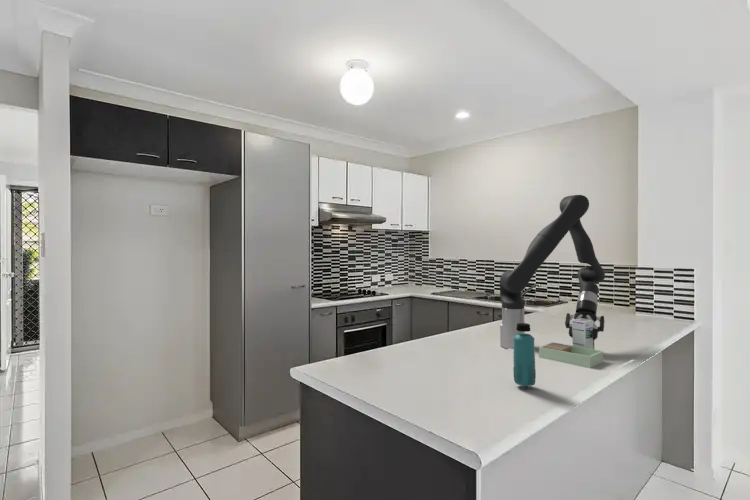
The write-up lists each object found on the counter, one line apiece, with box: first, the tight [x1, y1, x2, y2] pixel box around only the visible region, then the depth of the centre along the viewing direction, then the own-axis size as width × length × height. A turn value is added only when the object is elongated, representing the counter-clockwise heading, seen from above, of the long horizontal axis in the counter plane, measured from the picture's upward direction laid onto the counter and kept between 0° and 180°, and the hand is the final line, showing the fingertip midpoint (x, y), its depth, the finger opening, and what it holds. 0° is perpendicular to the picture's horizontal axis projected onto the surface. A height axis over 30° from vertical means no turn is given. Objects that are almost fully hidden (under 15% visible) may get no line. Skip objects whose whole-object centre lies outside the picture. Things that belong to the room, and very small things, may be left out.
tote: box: [538, 342, 604, 369], centre depth 156 cm, size 19×11×5 cm, turn 39°
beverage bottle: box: [512, 322, 537, 387], centre depth 128 cm, size 6×7×20 cm
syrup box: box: [571, 318, 595, 350], centre depth 163 cm, size 6×6×14 cm
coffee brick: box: [544, 343, 571, 353], centre depth 160 cm, size 7×8×4 cm
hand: (582, 337), depth 162 cm, fingers closed on syrup box, 7 cm apart
